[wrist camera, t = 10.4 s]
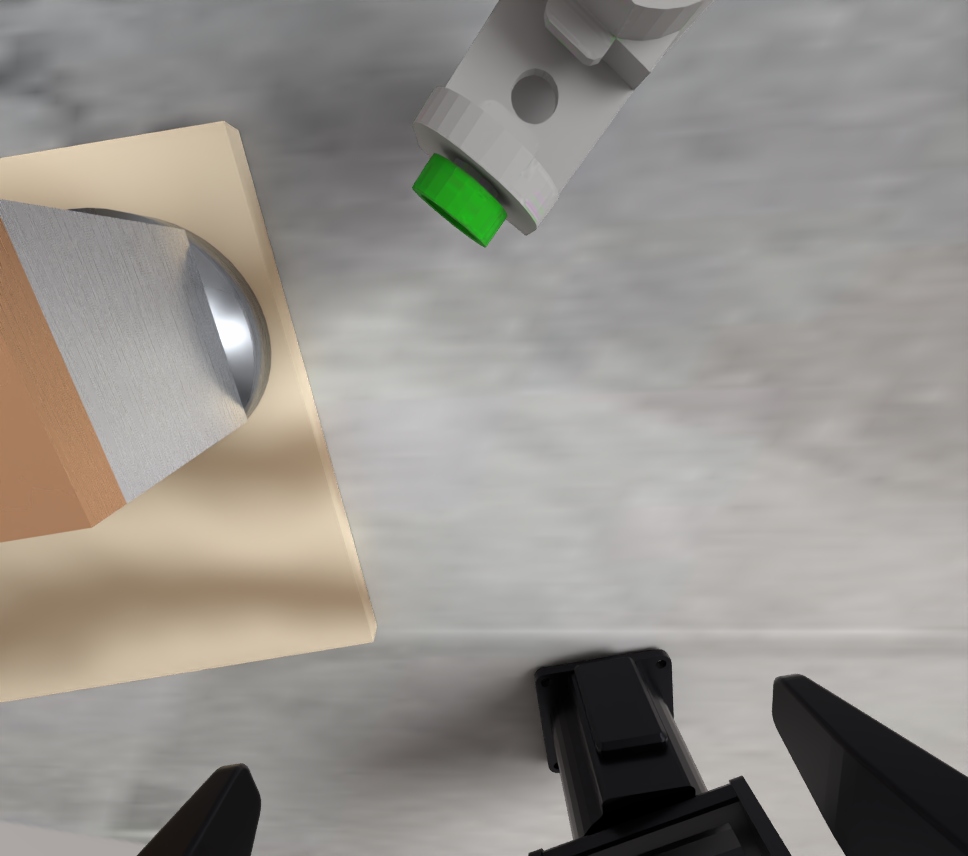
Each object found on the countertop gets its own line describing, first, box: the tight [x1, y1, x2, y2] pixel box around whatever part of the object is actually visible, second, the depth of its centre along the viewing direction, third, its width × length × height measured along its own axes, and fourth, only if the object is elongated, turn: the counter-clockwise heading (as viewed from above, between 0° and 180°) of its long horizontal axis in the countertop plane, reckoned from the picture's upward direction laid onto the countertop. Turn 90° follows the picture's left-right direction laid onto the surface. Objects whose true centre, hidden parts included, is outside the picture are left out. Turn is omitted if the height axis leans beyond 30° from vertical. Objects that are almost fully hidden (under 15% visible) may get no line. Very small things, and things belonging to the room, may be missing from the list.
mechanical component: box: [412, 0, 715, 247], centre depth 11 cm, size 3×10×10 cm, turn 143°
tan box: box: [0, 199, 248, 543], centre depth 11 cm, size 6×6×7 cm
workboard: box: [0, 121, 377, 703], centre depth 18 cm, size 20×17×1 cm
